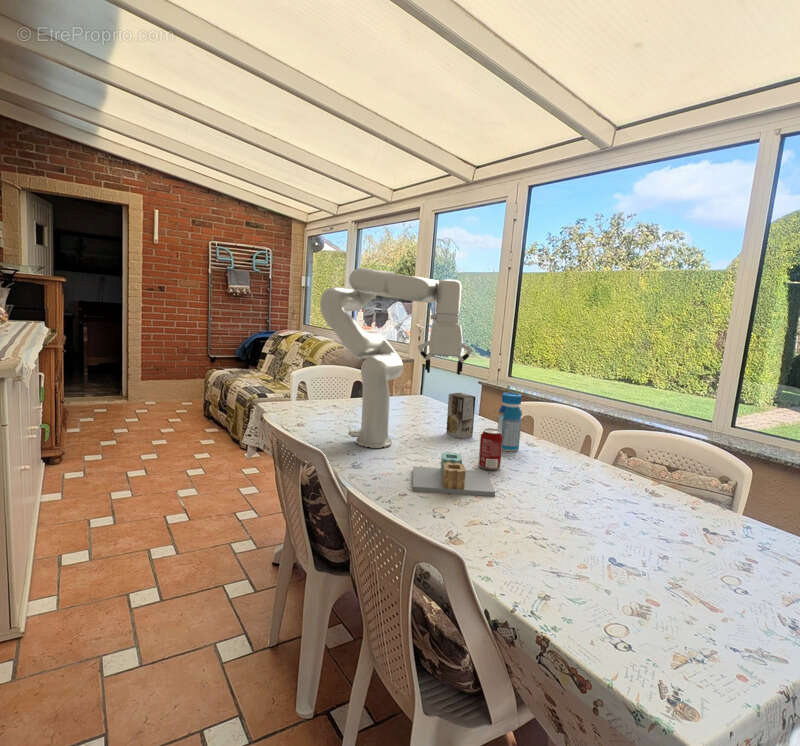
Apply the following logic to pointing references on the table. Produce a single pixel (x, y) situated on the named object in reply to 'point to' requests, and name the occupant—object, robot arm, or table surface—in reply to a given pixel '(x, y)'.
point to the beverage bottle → (510, 421)
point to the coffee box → (460, 415)
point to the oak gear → (453, 475)
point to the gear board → (432, 482)
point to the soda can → (490, 449)
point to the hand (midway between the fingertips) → (443, 373)
